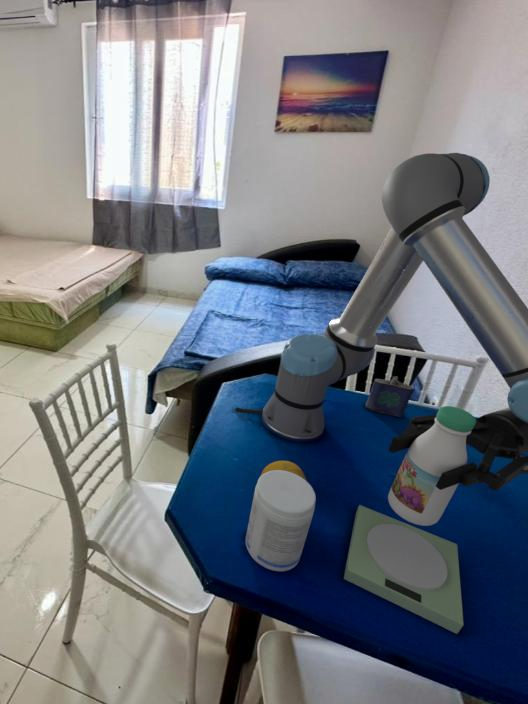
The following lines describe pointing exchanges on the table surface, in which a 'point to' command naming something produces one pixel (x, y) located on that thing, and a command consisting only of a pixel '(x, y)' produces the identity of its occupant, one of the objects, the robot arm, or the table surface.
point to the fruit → (284, 468)
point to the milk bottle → (431, 467)
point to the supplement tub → (279, 519)
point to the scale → (406, 567)
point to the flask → (389, 396)
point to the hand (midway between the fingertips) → (415, 462)
